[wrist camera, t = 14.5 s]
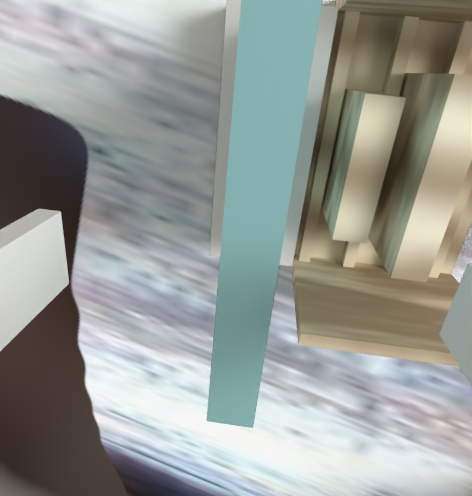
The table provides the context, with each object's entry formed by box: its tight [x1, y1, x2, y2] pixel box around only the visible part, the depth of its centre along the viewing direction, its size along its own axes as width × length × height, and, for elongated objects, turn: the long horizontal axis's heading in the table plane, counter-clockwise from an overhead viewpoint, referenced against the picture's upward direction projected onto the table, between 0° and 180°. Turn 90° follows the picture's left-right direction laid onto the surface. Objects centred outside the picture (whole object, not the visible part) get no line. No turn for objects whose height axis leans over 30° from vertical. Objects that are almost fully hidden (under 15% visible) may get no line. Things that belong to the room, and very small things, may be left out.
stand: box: [209, 0, 339, 266], centre depth 31 cm, size 20×8×4 cm, turn 175°
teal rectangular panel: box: [207, 0, 322, 428], centre depth 22 cm, size 16×2×22 cm, turn 175°
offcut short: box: [322, 89, 406, 244], centre depth 28 cm, size 10×2×7 cm, turn 175°
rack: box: [292, 0, 472, 367], centre depth 27 cm, size 22×15×14 cm
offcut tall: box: [368, 73, 472, 282], centre depth 27 cm, size 13×2×9 cm, turn 175°
